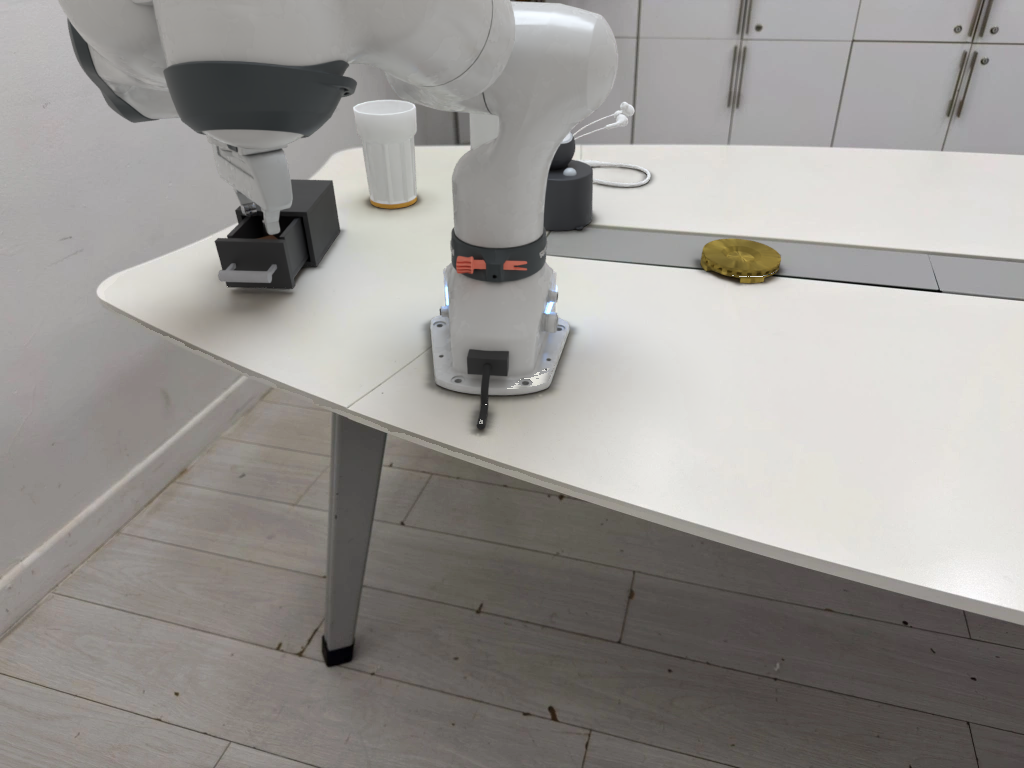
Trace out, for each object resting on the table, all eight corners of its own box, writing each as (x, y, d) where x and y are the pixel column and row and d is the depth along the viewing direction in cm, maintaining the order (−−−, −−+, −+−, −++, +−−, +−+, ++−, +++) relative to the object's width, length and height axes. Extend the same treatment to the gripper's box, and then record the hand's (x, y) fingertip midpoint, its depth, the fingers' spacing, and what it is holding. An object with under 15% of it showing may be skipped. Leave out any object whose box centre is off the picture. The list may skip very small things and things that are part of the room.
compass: (756, 290, 101) (759, 277, 100) (686, 266, 107) (688, 254, 106) (790, 265, 108) (793, 252, 107) (722, 244, 115) (725, 232, 113)
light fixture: (554, 144, 107) (506, 124, 117) (551, 238, 117) (506, 212, 126) (618, 132, 113) (567, 114, 123) (610, 222, 123) (563, 199, 132)
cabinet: (316, 266, 107) (306, 211, 102) (248, 265, 107) (234, 210, 102) (340, 231, 119) (332, 180, 114) (278, 229, 119) (268, 178, 114)
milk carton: (491, 174, 144) (490, 79, 133) (518, 180, 141) (519, 83, 130) (471, 183, 140) (468, 85, 129) (498, 190, 136) (497, 90, 125)
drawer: (283, 303, 95) (272, 255, 91) (214, 301, 96) (201, 253, 91) (319, 251, 110) (311, 208, 106) (259, 249, 110) (249, 206, 106)
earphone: (560, 143, 150) (626, 92, 140) (602, 203, 155) (670, 158, 145) (544, 161, 139) (615, 107, 130) (591, 225, 144) (663, 177, 134)
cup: (358, 194, 134) (346, 102, 124) (413, 187, 137) (406, 97, 127) (372, 214, 125) (360, 117, 115) (430, 206, 129) (423, 110, 119)
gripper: (191, 114, 96) (215, 209, 104) (243, 145, 83) (266, 250, 90) (235, 108, 99) (256, 200, 107) (291, 136, 86) (310, 239, 94)
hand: (261, 223), depth 98 cm, fingers open, 7 cm apart
